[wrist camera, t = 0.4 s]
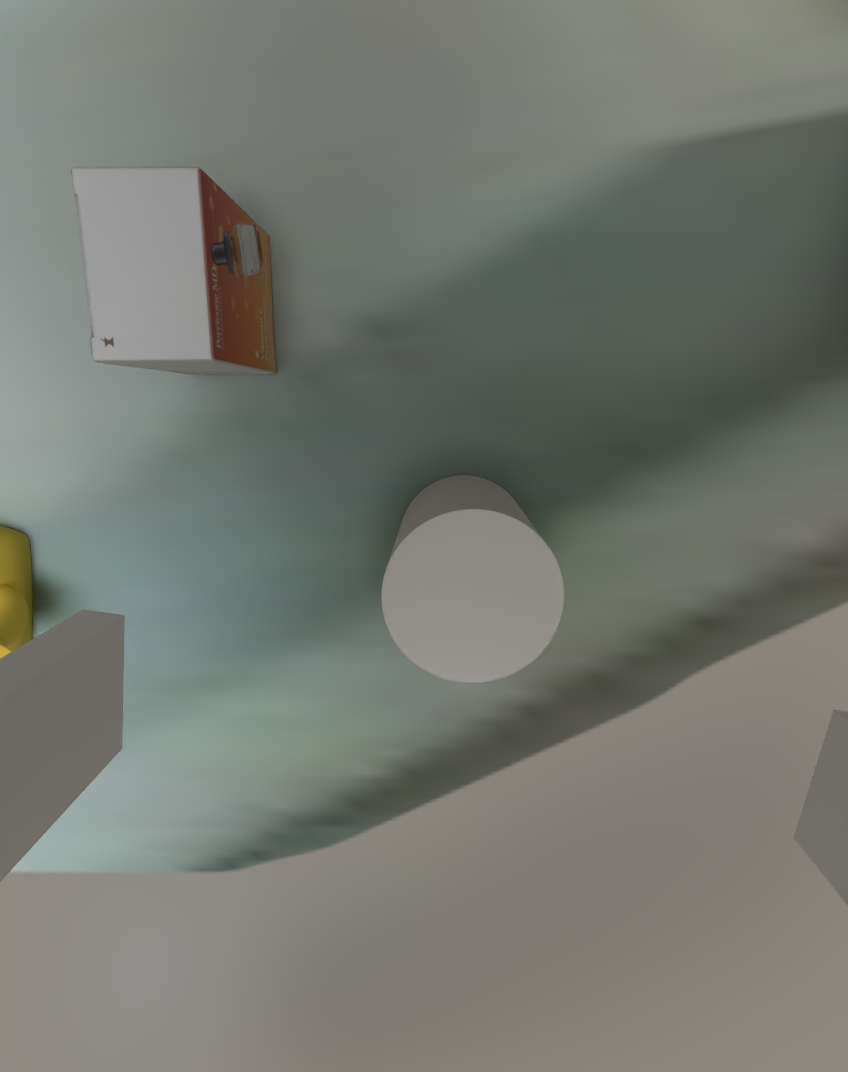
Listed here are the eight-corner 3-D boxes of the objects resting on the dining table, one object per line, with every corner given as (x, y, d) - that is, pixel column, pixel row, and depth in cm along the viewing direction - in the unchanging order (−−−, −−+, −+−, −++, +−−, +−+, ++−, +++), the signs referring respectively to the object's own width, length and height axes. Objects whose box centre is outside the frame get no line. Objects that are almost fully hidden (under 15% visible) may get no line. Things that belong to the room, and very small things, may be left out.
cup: (415, 610, 40) (404, 698, 28) (386, 491, 38) (362, 531, 26) (537, 584, 39) (578, 663, 27) (513, 462, 37) (545, 490, 26)
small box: (278, 375, 37) (214, 366, 26) (187, 375, 37) (89, 365, 27) (271, 232, 35) (200, 162, 25) (176, 232, 35) (66, 163, 25)
